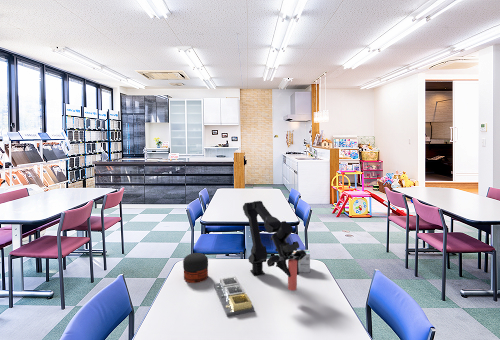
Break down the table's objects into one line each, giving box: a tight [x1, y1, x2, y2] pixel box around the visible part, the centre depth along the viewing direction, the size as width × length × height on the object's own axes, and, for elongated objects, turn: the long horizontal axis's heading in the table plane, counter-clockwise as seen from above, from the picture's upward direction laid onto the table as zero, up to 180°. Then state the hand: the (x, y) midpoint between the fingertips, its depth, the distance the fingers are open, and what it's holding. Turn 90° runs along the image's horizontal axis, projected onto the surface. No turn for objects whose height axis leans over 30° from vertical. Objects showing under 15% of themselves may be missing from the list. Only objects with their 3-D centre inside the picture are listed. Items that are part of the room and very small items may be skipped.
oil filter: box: [182, 252, 209, 284], centre depth 164 cm, size 13×12×13 cm
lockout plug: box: [287, 259, 298, 292], centre depth 139 cm, size 4×4×13 cm
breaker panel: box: [213, 276, 255, 317], centre depth 143 cm, size 27×12×4 cm, turn 18°
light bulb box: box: [292, 249, 311, 273], centre depth 173 cm, size 11×7×11 cm, turn 84°
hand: (294, 275), depth 138 cm, fingers closed on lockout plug, 4 cm apart
